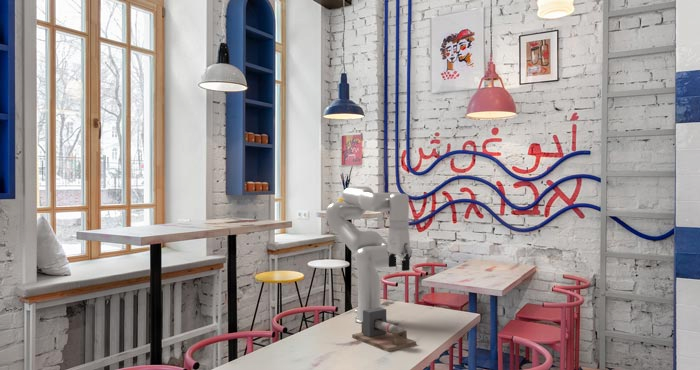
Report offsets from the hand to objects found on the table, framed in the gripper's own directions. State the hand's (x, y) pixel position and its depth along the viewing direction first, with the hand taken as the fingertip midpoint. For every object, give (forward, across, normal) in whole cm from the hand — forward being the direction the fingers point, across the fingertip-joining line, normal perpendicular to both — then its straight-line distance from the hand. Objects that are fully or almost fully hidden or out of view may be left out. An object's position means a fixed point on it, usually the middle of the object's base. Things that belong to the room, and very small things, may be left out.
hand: (398, 268), depth 196 cm
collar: (+23, +4, -13) cm, 27 cm away
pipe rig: (+24, +9, -12) cm, 29 cm away
